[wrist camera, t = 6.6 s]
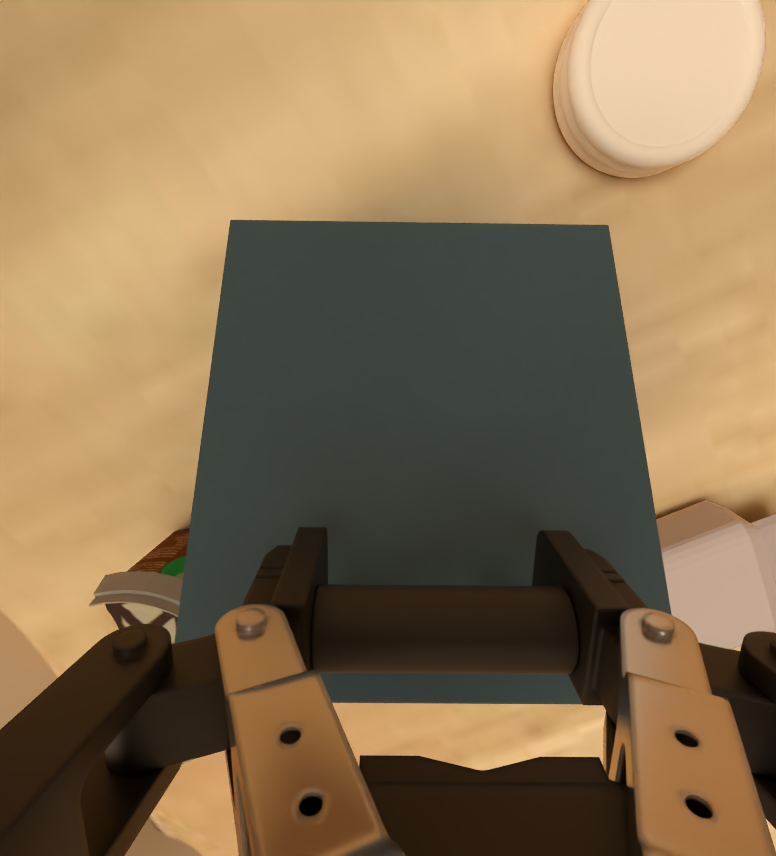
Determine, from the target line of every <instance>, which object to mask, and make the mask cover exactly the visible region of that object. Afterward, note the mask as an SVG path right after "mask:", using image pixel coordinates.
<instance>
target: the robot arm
mask: <svg viewBox="0 0 776 856" xmlns="http://www.w3.org/2000/svg"><path fill="white" fill-rule="evenodd" d="M321 584H328V534H327V528H326V527H299V528H298V530H297V533H296V536H295V538H294V541H293V544H292V545H277V546H276V547H275V548H273V549H272V550H271V551H270V552H268V553H267V554H266V555H265V556H264V559H263V561H262V563H261V565H260V569H258V571H257V574H256V577H255V578H254V580H253V582H252V584H251V586H250V589H249V591H248V593H247V595H246V597H245V599H244V601H243V604H242V606H241V607H238V608H235V609H233V610H231V611H229V612H228V613H226V614H225V615H224V616H222V617H221V618H220V620H219V621H218V622H217V624H216V626H215V633H213V634H211V635H208V636H205V637H202V638H198V639H193V640H188V641H183V642H178V643H173V644H172V642H171V635H170V632H169V631H168V630H167V629H166V628H164V627H163V626H160V625H156V624H137V625H132V626H128V627H125V628H121V629H119V630H117V631H114V632H112V633H110V634H109V635H107V636H105V637H104V638H102V639H101V640H100V641H99V642H97V643H96V644H95V645H94V646H93V647H92V648H91V649H90V650H88V651H87V652H86V653H85V654H84V655H83V656H82V657H81V658H80V659H78V660H77V661H76V662H75V663H74V664H73V665H72V666H71V667H70V668H68V669H67V670H66V671H65V672H64V673H63V674H62V675H61V676H60V677H58V678H57V679H56V680H55V681H54V682H53V683H52V684H51V685H50V686H48V687H47V688H46V689H45V690H44V691H43V692H42V693H41V694H40V695H38V696H37V697H36V698H35V699H34V700H33V701H32V702H31V703H30V704H28V705H27V706H26V707H25V708H24V709H23V710H22V711H21V712H20V713H18V714H17V715H16V716H15V717H14V718H13V719H12V720H11V721H10V722H8V723H7V724H6V725H5V726H4V727H3V728H2V729H1V730H0V856H125V854H126V852H127V851H128V849H129V848H130V846H131V844H132V843H133V841H134V840H135V838H136V837H137V835H138V833H139V832H140V830H141V829H142V827H143V826H144V824H145V822H146V821H147V819H148V818H149V816H150V815H151V813H152V811H153V810H154V808H155V807H156V805H157V804H158V802H159V800H160V799H161V797H162V796H163V794H164V793H165V791H166V789H167V788H168V786H169V785H170V783H171V782H172V780H173V778H174V777H175V775H176V774H177V772H178V770H179V769H180V767H181V764H182V762H185V761H188V760H192V759H195V758H199V757H203V756H206V755H210V754H213V753H217V752H221V751H224V750H225V757H226V764H227V771H228V778H229V785H230V792H231V799H232V805H233V812H234V819H235V826H236V834H237V842H238V852H239V856H776V851H775V848H774V845H773V841H772V838H771V835H770V832H769V828H768V825H767V822H766V819H767V820H768V821H769V822H770V823H771V825H772V826H773V827H774V828H775V829H776V633H773V632H766V631H755V632H750V633H748V634H746V635H745V636H744V638H743V642H742V646H741V651H736V650H731V649H726V648H722V647H717V646H712V645H707V644H703V643H699V642H698V639H697V636H696V634H695V632H694V631H693V630H692V629H691V628H690V627H689V626H688V625H687V624H686V623H684V622H683V621H681V620H680V619H678V618H676V617H674V616H672V615H670V614H668V613H665V612H662V611H658V610H655V609H649V608H648V607H647V606H646V605H645V604H644V602H643V601H642V600H641V599H640V598H639V597H638V595H637V594H636V593H635V592H634V591H633V589H632V588H631V587H630V586H629V585H628V584H627V583H625V580H624V579H623V578H622V577H621V575H620V574H619V573H617V571H616V570H615V568H614V567H613V566H612V565H611V564H610V563H609V561H608V560H607V559H605V558H604V557H602V556H600V555H599V554H597V553H596V552H594V551H592V550H591V549H583V547H582V546H581V545H580V544H579V542H578V541H577V540H576V539H575V537H574V536H573V535H572V534H571V532H570V531H554V530H540V531H539V532H538V535H537V539H536V549H535V559H534V569H533V579H532V586H559V587H562V588H563V589H564V590H565V591H566V592H567V593H568V595H569V597H570V599H571V601H572V604H573V607H574V610H575V614H576V618H577V624H578V631H579V657H578V662H577V666H576V668H575V670H574V671H573V672H572V673H570V674H568V675H569V678H570V680H571V682H572V684H573V686H574V688H575V690H576V692H577V694H578V696H579V698H580V700H581V702H582V704H583V705H603V706H604V707H605V709H606V715H605V721H604V728H603V765H602V763H601V761H600V758H599V757H538V758H534V759H530V760H526V761H522V762H518V763H514V764H510V765H506V766H502V767H498V768H495V769H491V770H485V771H482V770H475V769H471V768H467V767H463V766H458V765H454V764H450V763H446V762H442V761H438V760H434V759H429V758H425V757H421V756H360V765H359V766H358V763H357V761H356V758H355V756H354V754H353V751H352V749H351V747H350V744H349V742H348V740H347V737H346V735H345V733H344V730H343V728H342V725H341V723H340V721H339V718H338V716H337V714H336V711H335V709H334V707H333V704H332V702H331V700H330V697H329V695H328V692H327V690H326V688H325V685H324V683H323V681H322V678H321V676H320V674H319V672H318V671H317V670H316V669H313V668H312V664H311V623H312V612H313V604H314V598H315V593H316V590H317V587H318V585H321ZM765 818H766V819H765Z"/></svg>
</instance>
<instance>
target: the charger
mask: <svg viewBox="0 0 776 856" xmlns="http://www.w3.org/2000/svg"><path fill="white" fill-rule="evenodd" d="M656 522H657V528H658V534H659V540H660V546H661V552H662V559H663V565H664V571H665V577H666V583H667V589H668V595H669V602H670V608H671V614H672V616H674V617H676V618H678V619H680V620H681V621H683V622H684V623H686V624H687V625H688V626H689V627H690V628H691V629H692V630H693V631H694V632H695V634H696V636H697V639H698V642H699V643H703V644H707V645H712V646H717V647H722V648H726V649H734V648H736V647H739V646H742V642H743V638H744V636H745V635H746V634H748V633H750V632H755V631H766V632H773V633H775V632H776V514H774V515H771V516H769V517H766V518H763V519H761V520H758V521H755V522H753V523H749V522H748V521H746V520H745V519H743V518H741V517H740V516H738V515H737V514H735V513H734V512H732V511H730V510H729V509H727V508H726V507H724V506H721V505H718V504H716V503H713V502H711V501H708V500H704V501H702V502H699V503H697V504H694V505H691V506H689V507H686V508H684V509H681V510H679V511H676V512H673V513H671V514H668V515H666V516H663V517H661V518H658V519H656Z"/></svg>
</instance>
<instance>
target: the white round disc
mask: <svg viewBox="0 0 776 856" xmlns="http://www.w3.org/2000/svg"><path fill="white" fill-rule="evenodd" d="M765 33H766V32H765V22H764V16H763V11H762V7H761V3H760V1H759V0H589V1H588V2H587V3H586V4H585V6H584V7H583V9H582V10H581V12H580V13H579V15H578V16H577V17H576V19H575V20H574V22H573V23H572V25H571V27H570V28H569V30H568V32H567V34H566V36H565V39H564V41H563V43H562V46H561V49H560V52H559V55H558V59H557V63H556V67H555V74H554V81H553V100H554V109H555V114H556V118H557V121H558V124H559V127H560V130H561V132H562V134H563V136H564V138H565V140H566V142H567V143H568V145H569V146H570V147H571V149H572V150H573V151H574V152H575V153H576V155H577V156H578V157H579V158H580V159H582V160H583V161H584V162H585V163H587V164H588V165H589V166H591V167H593V168H595V169H596V170H598V171H601V172H603V173H606V174H609V175H613V176H618V177H624V178H639V177H647V176H651V175H655V174H658V173H661V172H664V171H666V170H669V169H670V168H673V167H675V166H678V165H680V164H682V163H684V162H687V161H690V160H692V159H694V158H695V157H697V156H699V155H701V154H703V153H704V152H705V151H707V150H708V149H710V148H711V147H712V146H714V145H715V144H716V143H717V142H718V141H719V140H720V139H721V138H722V137H723V136H724V135H725V134H726V133H727V132H728V131H729V130H730V129H731V128H732V126H733V125H734V124H735V123H736V122H737V120H738V119H739V117H740V116H741V115H742V113H743V112H744V110H745V108H746V106H747V105H748V103H749V101H750V99H751V97H752V95H753V92H754V90H755V88H756V85H757V82H758V79H759V76H760V73H761V69H762V65H763V61H764V53H765Z"/></svg>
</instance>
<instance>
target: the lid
mask: <svg viewBox="0 0 776 856" xmlns="http://www.w3.org/2000/svg"><path fill="white" fill-rule="evenodd" d="M299 527H326V528H327V534H328V584H321V585H318V587H317V590H316V593H315V598H314V604H313V612H312V623H311V664H312V668H313V669H316V670H317V671H318V672H319V674H320V676H321V678H322V681H323V683H324V685H325V688H326V690H327V692H328V695H329V697H330V700H331V702H332V703H467V704H582V702H581V700H580V698H579V696H578V694H577V692H576V690H575V688H574V686H573V684H572V682H571V680H570V678H569V675H568V674H570V673H572V672H573V671H574V670H575V668H576V666H577V662H578V657H579V631H578V624H577V618H576V614H575V610H574V607H573V604H572V601H571V599H570V597H569V595H568V593H567V592H566V591H565V590H564V589H563V588H562V587H559V586H532V579H533V569H534V559H535V549H536V539H537V535H538V532H539V531H540V530H554V531H570V532H571V534H572V535H573V536H574V537H575V539H576V540H577V541H578V542H579V544H580V545H581V546H582V547H583V549H591V550H592V551H594V552H596V553H597V554H599V555H600V556H602V557H604V558H605V559H607V560H608V561H609V563H610V564H611V565H612V566H613V567H614V568H615V570H616V571H617V573H619V574H620V575H621V577H622V578H623V579H624V580H625V583H627V584H628V585H629V586H630V587H631V588H632V589H633V591H634V592H635V593H636V594H637V595H638V597H639V598H640V599H641V600H642V601H643V602H644V604H645V605H646V606H647V607H648V608H649V609H655V610H658V611H662V612H665V613H668V614H670V615H672V614H671V608H670V602H669V595H668V589H667V583H666V577H665V571H664V565H663V559H662V552H661V546H660V540H659V534H658V528H657V522H656V515H655V509H654V503H653V497H652V491H651V485H650V478H649V472H648V466H647V460H646V454H645V448H644V442H643V435H642V429H641V423H640V417H639V411H638V405H637V398H636V392H635V386H634V380H633V374H632V368H631V361H630V355H629V349H628V343H627V337H626V331H625V325H624V318H623V312H622V306H621V300H620V294H619V288H618V281H617V275H616V269H615V263H614V257H613V251H612V244H611V238H610V232H609V226H608V225H562V224H488V223H415V222H341V221H268V220H231V221H230V227H229V235H228V242H227V250H226V257H225V265H224V273H223V280H222V288H221V295H220V303H219V310H218V318H217V325H216V333H215V341H214V348H213V356H212V363H211V371H210V378H209V386H208V393H207V401H206V408H205V416H204V424H203V431H202V439H201V446H200V454H199V461H198V469H197V476H196V484H195V492H194V499H193V507H192V514H191V522H190V529H189V537H188V544H187V552H186V560H185V567H184V575H183V582H182V590H181V597H180V605H179V612H178V620H177V627H176V635H175V643H178V642H183V641H188V640H193V639H198V638H202V637H205V636H208V635H211V634H213V633H215V626H216V624H217V622H218V621H219V620H220V618H221V617H222V616H224V615H225V614H226V613H228V612H229V611H231V610H233V609H235V608H238V607H241V606H242V604H243V601H244V599H245V597H246V595H247V593H248V591H249V589H250V586H251V584H252V582H253V580H254V578H255V577H256V574H257V571H258V569H260V565H261V563H262V561H263V559H264V556H265V555H266V554H267V553H268V552H270V551H271V550H272V549H273V548H275V547H276V546H277V545H292V544H293V541H294V538H295V536H296V533H297V530H298V528H299Z"/></svg>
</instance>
